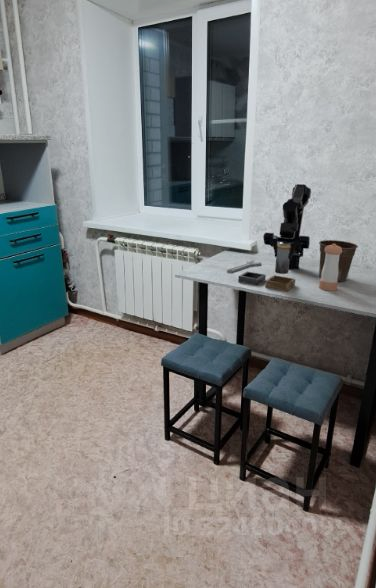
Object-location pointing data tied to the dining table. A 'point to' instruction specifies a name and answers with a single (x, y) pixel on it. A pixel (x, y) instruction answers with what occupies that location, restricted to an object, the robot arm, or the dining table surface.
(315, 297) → the dining table surface
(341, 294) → the dining table surface
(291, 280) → the wooden square frame
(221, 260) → the dining table surface
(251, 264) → the adjustable wrench
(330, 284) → the pepper shaker
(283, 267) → the brass-banded metal cylinder
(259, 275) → the socket block
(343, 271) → the plant pot
